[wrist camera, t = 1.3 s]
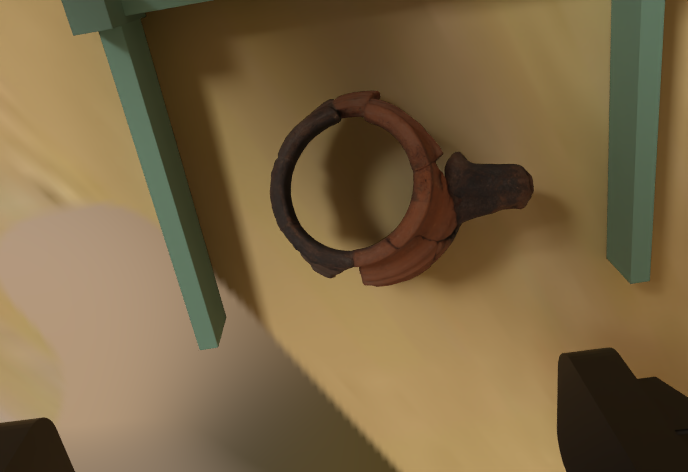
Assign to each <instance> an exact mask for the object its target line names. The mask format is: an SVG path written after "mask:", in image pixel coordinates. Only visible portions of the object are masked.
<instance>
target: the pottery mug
mask: <svg viewBox="0 0 688 472" xmlns="http://www.w3.org/2000/svg"><path fill="white" fill-rule="evenodd" d="M379 99H380V93H379V92H378V91H362V92H353V93H348V94H345V95H341V96H339V97H337V98H336V99H335V100H334V99H330V100H327V101H326V102H324V103H323V104H321V105H320V106H319V107H318V108H316V109H315V110H314V111H313V112H312V113H311V114H310V115H308V116H307V117H306V118H305V119H304V120H303V121H301V122H300V123H299V124H298V125H297V126H295V127H294V128H293V130H292V131H291V132H290V133H289V135H288V136H287V137H286V138H285V140H284V142H283V144H282V146H281V148H280V150H279V152H278V158H277V159H276V161H275V163H274V167H273V170H272V172H271V185H270V186H271V187H270V198H271V203H272V209H273V213H274V216H275V218H276V221H277V224H278V226H279V228H280V230H281V231H282V232H283V233H284V235H285V236H286V238H287V239H288V240H289V241H290V242H291V243H292V244H293V246H294V247H295V249H296V250H298V251H299V252H300V253H301V256H302V257H303V258H304V259H305V260H306V261H307V262H308V263H309V264H310V265H311V267H312V269H313V270H314V271H315V272H317V273H319V274H321V275H323V276H325V277H327V278H333V277H335V276H336V275H337V274H340V273H341V272H343V271H344V270H347V269H349V268H352V267H359V271H360V274H361V277H362V282H363V284H364V285H372V286H376V287H379V286H388V285H393V284H397V283H400V282H403V281H407V280H410V279H412V278H414V277H416V276H418V275H419V274H421V273H423V272H424V271H425V270H427V269H428V268H430V267H431V265H432V264H433V263H434V262H435V261H436V260H438V259H439V258H440V256H441V255H442V254H443V253H444V252H445V251H446V250H447V248H448V247H449V246H450V244H451V243H452V242H453V240H454V238H455V236H456V234H457V232H458V230H459V227H460V226H461V223H463V222H465V221H467V220H470V219H473V218H476V217H480V216H483V215H487V214H492V213H495V212H497V211H499V210H503V209H513V208H514V209H522V208H524V207H525V206H526V205H527V203H528V201H529V200H530V198H531V196H532V194H533V191H534V186H533V180H532V176H531V175H530V174H529V173H528V172H527V171H526V170H525V169H524V167H522V166H520V165H517V164H475V163H471V162H469V161H468V160H467V159H466V158H465V157H464V156H463V155H462V154H461V153H460V152H455V153H453V154H452V155H451V157H450V158H449V159H448V161H447V163H446V166H445V176H444V174H443V172H442V171H440V170H439V168H438V166H437V164H436V161H437V159H438V158H439V157H441V156H442V155H443V152H442V150H441V148H440V146H439V145H438V144H437V143H436V142H435V140H434V139H433V138H432V137H431V135H429V134H428V133H427V131H426V130H425V129H424V128H423V126H422V125H421V124H419V123H418V122H417V121H416V120H414V119H413V118H412V117H410V116H409V115H408V114H406V113H405V112H404V111H402V110H401V109H400V108H398V107H396V106H394V105H392V104H390V103H387V102H385V101H382V100H379ZM347 117H364V119H365V121H367V122H369V123H372V124H374V125H377V126H380V127H382V128H383V129H385V130H387V131H388V132H389V133H391V134H392V135H393V136H394V137H395V138H396V139H397V140H398V141H399V143H400V144H401V145H402V147H403V148H404V150H405V151H406V153H407V156H408V158H409V161H410V164H411V167H412V170H413V180H414V185H413V194H412V198H411V202H410V205H409V208H408V210H407V212H406V214H405V216H404V218H403V219H402V221H401V223H400V224H399V225H398V227H397V228H396V229H395V230H394V231H393V232H392V233H391V234H390V235H389V236H388V237H386V238H384V239H383V240H381V241H380V242H378V243H376V244H374V245H372V246H369V247H366V248H362V249H357V250H353V251H343V250H336V249H333V248H329V247H327V246H325V245H323V244H321V243H319V242H318V241H316V240H315V239H314V238H312V237H311V236H310V235H309V234H308V233H307V232H306V231H305V230H304V229H303V228H302V226H301V225H300V223H299V221H298V219H297V216H296V214H295V211H294V208H293V204H292V199H291V180H292V174H293V171H294V168H295V165H296V162H297V160H298V158H299V157H300V155H301V153H302V152H303V150H304V149H305V147H306V146H307V145H308V143H309V142H310V141H311V140H312V139H313V138H314V137H315V136H317V135H318V134H320V133H321V132H322V131H324V130H325V129H327V128H328V127H330V126H333V125H335V124H337V123H339V122H340V121H341V119H342V118H347Z"/></svg>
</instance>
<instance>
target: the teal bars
mask: <svg viewBox="0 0 688 472" xmlns="http://www.w3.org/2000/svg"><path fill="white" fill-rule="evenodd" d="M61 1H62V3H63V6H64V9H65V12H66V15H67V18H68V21H69V24H70V27H71V30H72V33H73V36H74V35H80V34H86V33H91V32H97V31H99V34H100V37H101V41H102V44H103V47H104V50H105V53H106V56H107V59H108V63H109V66H110V69H111V72H112V75H113V78H114V81H115V85H116V88H117V91H118V94H119V97H120V100H121V103H122V107H123V110H124V113H125V116H126V119H127V122H128V125H129V129H130V132H131V135H132V138H133V141H134V144H135V147H136V151H137V154H138V157H139V160H140V163H141V166H142V169H143V173H144V176H145V179H146V182H147V185H148V188H149V192H150V195H151V198H152V201H153V204H154V207H155V210H156V214H157V217H158V220H159V223H160V226H161V229H162V232H163V236H164V239H165V242H166V245H167V248H168V251H169V254H170V257H171V261H172V263H173V267H174V270H175V273H176V276H177V279H178V283H179V286H180V289H181V292H182V295H183V298H184V302H185V305H186V308H187V311H188V314H189V317H190V320H191V323H192V327H193V330H194V333H195V336H196V339H197V342H198V345H199V349H200V350H204V349H211V348H216V347H218V346H219V342H220V339H221V335H222V331H223V327H224V323H225V320H226V314H225V311H224V308H223V304H222V301H221V297H220V294H219V290H218V287H217V283H216V280H215V276H214V273H213V269H212V266H211V262H210V259H209V255H208V252H207V249H206V245H205V242H204V238H203V235H202V231H201V228H200V224H199V221H198V217H197V214H196V210H195V207H194V203H193V200H192V196H191V193H190V189H189V186H188V183H187V179H186V176H185V172H184V169H183V165H182V162H181V158H180V155H179V151H178V148H177V144H176V141H175V137H174V134H173V130H172V127H171V124H170V120H169V117H168V113H167V110H166V106H165V103H164V99H163V96H162V92H161V89H160V85H159V82H158V78H157V75H156V71H155V68H154V65H153V61H152V58H151V54H150V51H149V47H148V44H147V40H146V37H145V33H144V30H143V26H142V23H141V18H144V17H146V14H145V12H150V11H156V10H161V9H167V8H173V7H178V6H184V5H189V4H195V3H201V2H206V1H212V0H61ZM664 10H665V0H612V7H611V58H610V108H609V158H608V209H607V259H608V260H609V261H610V262H611V263H612V264H613V266H614V267H615V268H616V269H617V270H618V271H619V272H620V273H621V274H622V275H623V276H624V278H625V279H626V280H627V281H628V282H629V283H630V284H634V283H640V282H647V281H650V267H651V249H652V231H653V212H654V194H655V175H656V157H657V139H658V120H659V102H660V83H661V65H662V46H663V28H664Z"/></svg>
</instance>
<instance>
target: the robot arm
mask: <svg viewBox="0 0 688 472" xmlns="http://www.w3.org/2000/svg"><path fill="white" fill-rule="evenodd" d="M557 436H558V443H559V449H560V453H561V457H562V461H563V464H564V467H565V469H566V472H688V397H686V396H685V395H683V394H682V393H680V392H678V391H677V390H675V389H674V388H672V387H671V386H669V385H668V384H666V383H665V382H663V381H661V380H660V379H658V378H657V377H649V378H641V379H637V378H636V377H635V376H634V374H633V373H632V371H631V370H630V369H629V367H628V366H627V365H626V363H625V362H624V360H623V359H622V358H621V356H620V355H619V354H618V352H617V351H616V350H615V349H613V348H601V349H593V350H585V351H577V352H569V353H562V354H561V355H560V357H559V361H558V396H557ZM0 472H75V471H74V468H73V466H72V464H71V462H70V459H69V457H68V455H67V452H66V450H65V448H64V445H63V443H62V441H61V438H60V436H59V434H58V431H57V429H56V427H55V425H54V424H53V422H52V421H51V420H50V419H48V418H36V419H28V420H20V421H12V422H5V423H0Z"/></svg>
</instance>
